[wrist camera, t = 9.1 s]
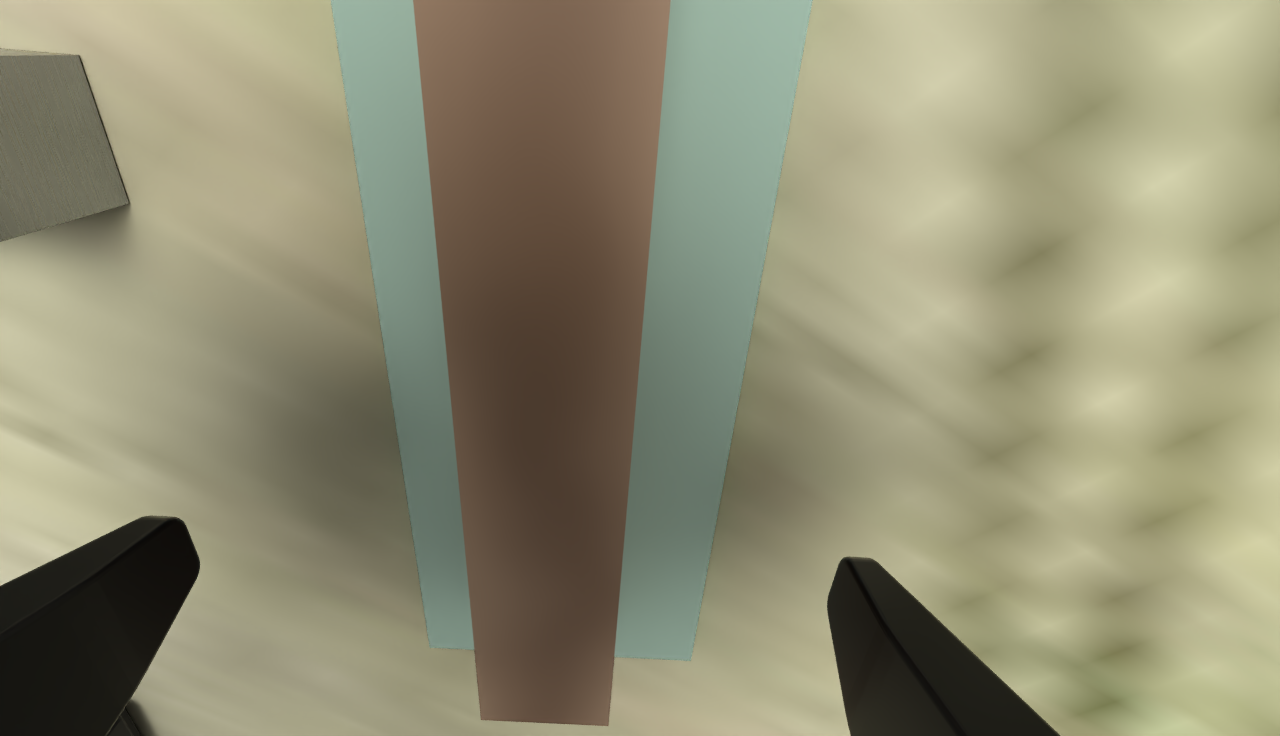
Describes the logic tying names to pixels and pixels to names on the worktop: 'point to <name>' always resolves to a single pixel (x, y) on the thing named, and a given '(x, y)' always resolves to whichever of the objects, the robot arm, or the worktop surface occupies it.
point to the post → (51, 145)
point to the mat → (674, 300)
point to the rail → (543, 320)
